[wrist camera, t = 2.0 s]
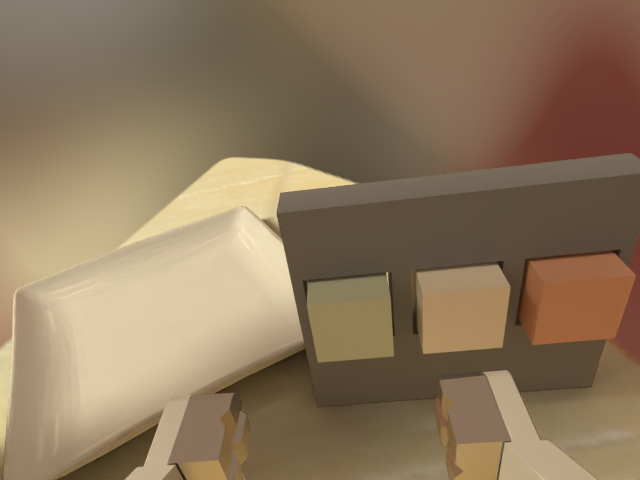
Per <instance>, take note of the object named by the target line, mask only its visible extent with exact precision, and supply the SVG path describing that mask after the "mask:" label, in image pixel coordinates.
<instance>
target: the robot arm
mask: <svg viewBox="0 0 640 480" xmlns="http://www.w3.org/2000/svg"><path fill="white" fill-rule="evenodd" d="M435 388H436V392H437V396H438V398H437V399H436V400H435V412H436V422H437V427H438V432H439V437H440V441H441V444H442V445H443V446H444V447H445V448H446V466H447V470H448V475H449V479H450V480H598V479H597V478H595V477H594V476H593V475H592V474H590V473H589V472H588V471H587V470H585V469H584V468H583V467H582V466H580V465H579V464H578V463H577V462H576V461H574V460H573V459H572V458H571V457H569V456H568V455H567V454H566V453H564V452H563V451H562V450H561V449H559V448H558V447H557V446H556V445H554V444H553V443H552V442H551V441H550V440H541V439H540V437H539V434H538V432H537V430H536V428H535V426H534V423H533V421H532V419H531V417H530V415H529V412H528V410H527V408H526V406H525V404H524V401H523V399H522V397H521V395H520V393H519V390H518V388H517V386H516V384H515V382H514V379H513V377H512V375H511V374H510V373H509V372H508V371H507V370H502V371H490V372H483V373H482V372H472V373H462V374H451V375H440V376H436V381H435ZM241 403H242V401H241V399H240V396H239V394H238V393H221V394H202V395H185V396H172V397H171V398H170V399H169V401H168V402H167V403H166V406H165V408H164V411H163V414H162V417H161V419H160V422H159V425H158V428H157V431H156V433H155V436H154V439H153V442H152V444H151V447H150V450H149V453H148V455H147V458H146V461H145V464H144V466H143V467H137V468H136V469H135V470H134V471H133V472H132V473H131V474H130V475H129V476H128V477H127V478H126V479H125V480H245V475H244V473H243V470H242V468H241V465H242V464H243V462H244V461H245V460H246V459H247V457H248V454H249V447H250V427H249V421H248V418H247V415H246V414H245V413H244V412H242V411H241V410H240V409H241Z"/></svg>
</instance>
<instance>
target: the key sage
mask: <svg viewBox="0 0 640 480" xmlns="http://www.w3.org/2000/svg"><path fill="white" fill-rule="evenodd" d="M307 310H308V315H309V320H310V325H311V330H312V335H313V340H314V345H315V351H316V356H317V361H318V363H319V362H331V361H344V360H356V359H368V358H380V357H393V356H394V347H393V329H392V311H391V297H390V291H389V286H388V281H387V276H386V272H383V273H373V274H363V275H352V276H342V277H332V278H322V279H311V280H308V292H307Z"/></svg>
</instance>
